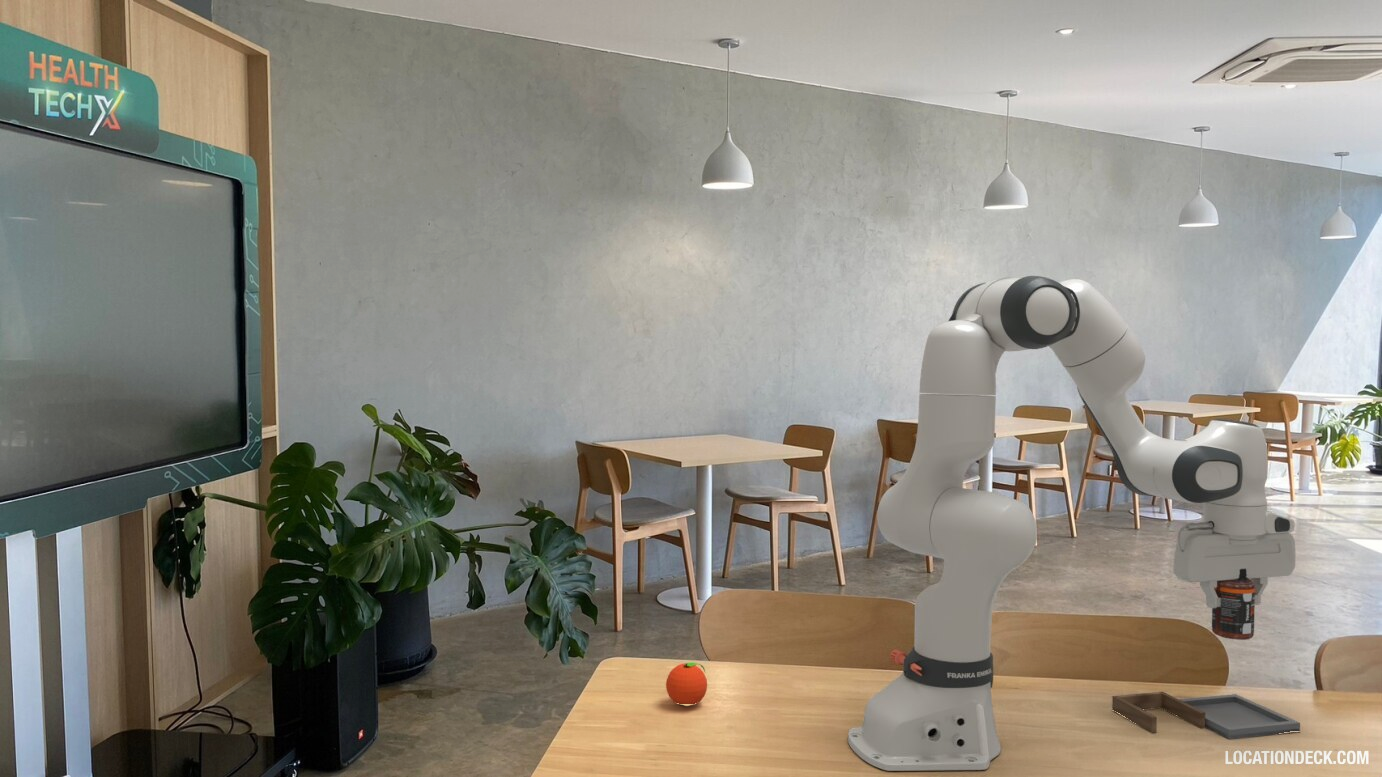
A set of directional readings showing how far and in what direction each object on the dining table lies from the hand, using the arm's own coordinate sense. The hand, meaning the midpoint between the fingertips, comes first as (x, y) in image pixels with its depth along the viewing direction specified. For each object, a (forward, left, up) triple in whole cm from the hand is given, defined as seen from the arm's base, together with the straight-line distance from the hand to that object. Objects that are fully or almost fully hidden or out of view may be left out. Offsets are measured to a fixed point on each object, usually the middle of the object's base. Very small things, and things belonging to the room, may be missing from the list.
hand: (1233, 605), depth 154 cm
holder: (-11, +3, -19) cm, 22 cm away
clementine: (-84, +26, -19) cm, 90 cm away
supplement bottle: (0, 0, -5) cm, 5 cm away
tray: (0, 0, -19) cm, 19 cm away
